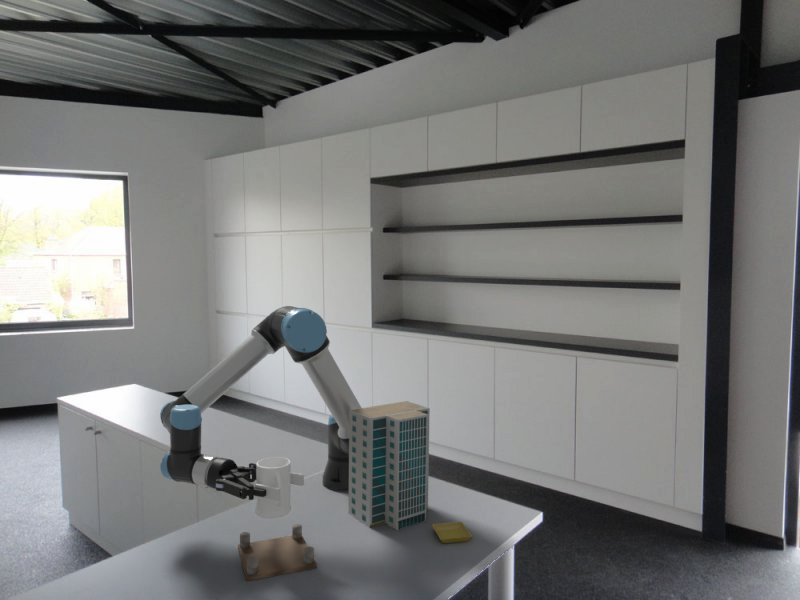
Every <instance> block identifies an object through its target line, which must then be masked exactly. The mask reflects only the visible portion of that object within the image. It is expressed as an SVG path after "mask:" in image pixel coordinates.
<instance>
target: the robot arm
mask: <svg viewBox="0 0 800 600" xmlns="http://www.w3.org/2000/svg"><path fill="white" fill-rule="evenodd" d="M327 330H328V329H327V325H326V322H325V320H324V319H323V318H322V316H321V315H320V314H318V313H317V312H315V311H314V310H312V309H310V308H306V307H295V306H290V305H286V306H282V307H279V308H277V309H275V310H274V311H272V312H271V313H270V314H269V315H267V316H266V317H265V318H264V319H263V320H261V321H260V323H258V324H257V325H256V326H255V327H253V329H251V335H250V336H248V337H247V338H246V339H245V340H244V341H243V342H241V343H240V344H239V345H238V346H237V347H236V348H234V350H232V351H231V352H230V353H229V354H228V355H226V356H225V357H224V358H223V359H222V360H221V361H220V362H218V364H216V365H215V366H214V367H213V368H212V369H210V370H209V371H208V372H207V373H206V374H204V375H203V377H201V378H200V379H199V380H198V381H196V382H195V383H194V384H193V385H192V386H191V387H190V388H188V390H186V391H184V393H183V394H182V395H180V396H179V397H177V399H175V400H172V401H168V402H167V403H165V404H164V405H163V406H162V408H161V410H160V415H159V417H160V421H161V424H162V426H163V427H164V428H165V429H166V430H167V432H168V433H169V435H170V436H169V440H170V449H169V450H168V451H167V452H165V453H164V455H163V457H162V458H161V460H162V461H161V462H160V467H159V468H160V469H159V470H160V473H161V474H162V476H163V477H165V478H166V479H169V480H172V481H174V482H177V483H186V484H190V485H191V484H192V485H196V486H201V487H204V488H205V489H208V488H211V489H215V490H216V491H217V492H224V493H226V494H227V495H228V494H229V495H231V496H233V497H236V498H239V499H241V500H246V499H248V500H249V501H253V500H254V499H255V497H256V496H257V497H262V498H267V499H272V500H277V501H279V500H280V488H277V487H272V486H267V485H262V484H256V483H255V484H253V483H254V482H255V481H256V464H257V463H254V462H251V463H248V466H247V467H246V466H238V465H237V463H236V462H235V461H234V460H233V459H230V458H224V457H220V456H215V455H208V454H203V453H202V421H203V418H202V413H203V414H204V412H205V411H206V410H207V409H209V408H210V406H212V405H213V404H214V403H216V401H217V400H219V399H220V398H221V397H222V396H223V395H224V394H225V393H227V392H228V391H229V390H230V389H231V388H232V387H234V385H235V384H237V383H238V382H239V381H240V380H241V379H242V378H244V377H245V376H246V375H247V374H248V373H249V372H250V371H251V370H252V369H253V368H254V367H255V366H257V365H258V364H259V363H260V362H261V361H263V359H264V358H266V357H267V356H268V355H275V353H276V352H278V351H279V350H280V349H282V348H283V347H285V350H286V351H287V353H288V354H289V356H290V357H291V359H292V360H293V363H296V364H300V365H302V368H303V369H304V370H305V372H306V374H307V375H308V377H309V379H310V380H311V382H312V384H313V385H314V386H315V389H316V390H317V392H318V393H319V395H320V397H321V398H322V401H323V402H324V404H325V405H326V408H327V409H328V411H329V412H330V415H329V417H328V423H327V435H328V436H327V437H328V438H327V453H328V454H327V462H326V464H325V468H324V471H323V474H322V485H323V486H324V487H325V488H327V489H329V490H334V491H341V492H346V491H347V492H349V410H353V409H359V408H362V406H361V405H360V402H359V401H358V399H357V397H356V395H355V393H354V391H353V390H352V389H351V387H350V385H349V383H348V381H347V380H346V378H345V376H344V374H343V373H342V371H341V368H340V367H339V366H338V364H337V362H336V361H335V360H336V359H334V357H333V355H332V353H331V352H330V350H329V347H330V344H331V343H330V339H329V338H328V336H327V334H328V333H327V332H328V331H327ZM290 485H293V486H294V485H296V486H298V487H299V486H300V487H303V486H304V485H305V474H304V473H299V472H294V471H291V478H290Z"/></svg>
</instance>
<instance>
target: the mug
mask: <svg viewBox="0 0 800 600" xmlns="http://www.w3.org/2000/svg"><path fill="white" fill-rule="evenodd" d="M255 464H256V480H255V481H256V483H255V484H262V485H267V486H272V487H277V488H280V500H279V501H277V500H272V499H267V498H262V497H257V496H255V497H256V500H255V502H256V503H255V505H256V507H255V511H254V513H255V514H256V515H257V517H259V518H264V519H278V518H282V517H284V516H287V515H289V514H290V513H291V512H292V505H291V484H290V478H291V472H292V470H291V468H292V467H291V464H292V463H291V459H289V458H287V457H281V456H271V457H266V458H262V459H260V460H258V461H257V462H256V463H255Z"/></svg>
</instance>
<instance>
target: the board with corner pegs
mask: <svg viewBox="0 0 800 600" xmlns="http://www.w3.org/2000/svg"><path fill="white" fill-rule="evenodd" d="M291 528H292V529H291V531H292V532H291V533H292V535H287V536H281V537H276V538H268V539H264V540H257V541H252V542H251V533H250V532H247V531H244V532H241V533H240V534H239V544H237V549H238V553H239V558H240V561H241V562H240V563H241V565H242V569H243V573H244V576H245V581H246V582H249V581H255V580H260V579H263V578H270V577H274V576H275V577H276V576H280V575H287V574H291V573H296V572H300V571H306V570H307V571H308V570H311V569H312V570H313V569H317V567H318V566H317V565H318V564H317V561H316V559H315V548H314V547H313V546H308V544H307V541H306V540H305V538H304V535H303V524H301V523H296V524H293V525H292V526H291Z"/></svg>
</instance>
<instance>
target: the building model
mask: <svg viewBox="0 0 800 600" xmlns="http://www.w3.org/2000/svg"><path fill="white" fill-rule="evenodd" d="M429 455H430V407H427V406H424V405H421V404H417V403H415V402H413V401H409V400H403V401H397V402H392V403H391V402H390V403H386V404H378V405H372V406H367V407H361V408H359V409H353V410H349V491H348V514H349V515H350V516H352V517H353V518H355V519H356V520H358V521H359V522H360V523H362V524H364V525H365V526H366V527H368V528H373V527H376V526H380V525H382V524H386V525H388V526H389V527H391V528H393V529H394V530H396V531H398V530H401V529H405V528H408V527H411V526H413V525H417V524H420V523H423V522H427V510H429V470H430V469H429V467H430V466H429V465H430V463H429V462H430V461H429V457H430V456H429Z"/></svg>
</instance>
